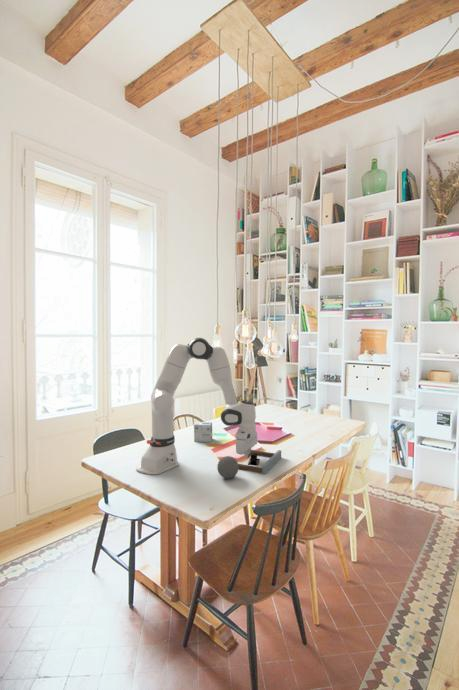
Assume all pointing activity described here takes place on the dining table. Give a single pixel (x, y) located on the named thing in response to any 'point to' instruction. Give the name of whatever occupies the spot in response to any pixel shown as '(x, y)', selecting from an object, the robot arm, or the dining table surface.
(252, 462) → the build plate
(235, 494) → the dining table surface
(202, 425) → the light bulb box
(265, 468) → the frame
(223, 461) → the decorative ball
